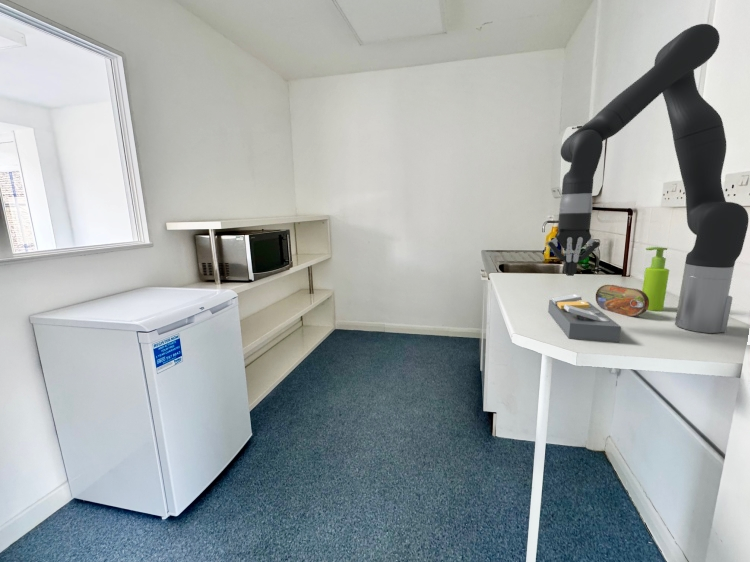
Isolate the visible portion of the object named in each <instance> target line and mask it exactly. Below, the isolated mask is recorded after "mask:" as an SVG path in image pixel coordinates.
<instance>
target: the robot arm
mask: <svg viewBox="0 0 750 562" xmlns="http://www.w3.org/2000/svg"><path fill="white" fill-rule="evenodd" d="M720 40H721V39H720V33H719V31H718V29H717V28H716V27H715V26H713V25H711V24H708V23H699V24H695V25H693V26H690V27H688V28H687V29H684V30H683V31H682V32H680V33H679V34H678V35H676V36H674V37H673V38H672V39H671V40H669V42H667V43H666V44H665V45H664V46H663V47H661V49H659V51H658V52H657V53H656V56H655V59H654V64H653V66H652V67H651V68H650V69H649V70H648V71H647V72H645V73H644V74H643V75H642V76H641V77H639V78H638V79H637V80H635V81H634V82H633V83H631V84H630V85H629V86H628V87H627V88H625V89H624V90H623V91H622V92H620V93H619V94H618V95H617V96H615V97H614V98H613V99H612V100H611V101H610V102H608V104H607V105H606V106H604V107H603V108H602V109H601V110H600V111H599V112H598V113H597V114H596V115H595V116H594V117H592V118H591V119H590V120H589V121H588V122H586V123H584V124H583V125H582V126H581V127H580V128H578V129H577V130H576V131H574V132H572V134H571V135H569V136H568V137H567V138H566V139H565V140H564V142H563V144H562V145H561V148H560V156H561V157H562V159H563V160H564V161H565V162H567V163H570V167H569V170H568V172H566V173H565V174H564V175H563V179H562V186H561V198H560V201H559V212H558V223H557V224H558V225H557V232H556V234H555V237H554V238H553V239H551V240H549V241H547V242H546V245H547V247H549V249H550V251H551V252H552V253H553V254H554V256H556V258H557V259H558V260H559V261H563V263H564V264H563V273H564V274H565V275H566V276H567V277H569V276H570V277H571V276H572V277H573V276H575V274H576V273H577V269H578V263H579V262H581V261H585V260H586V259H587V258H588V257H589V256H590V255H591V254H592V253H593V252H594V251H595V250H596V249H597V248H598V247H599V246H600V242H599V241H596V240H595V239H593V238H592V234H591V223H592V222H591V221H592V213H593V212H592V211H593V189H594V178H595V174H596V172H597V169H598V165H599V162H600V159H601V157H602V152H603V147H604V145H603V142H604V141H606V140H607V139H609V138H612V137H613V136H615V135H616V134H617V133H619V132H620V131H621V130H623V129H624V127H626V126H627V125H628V124H630V122H632V121H633V120H634V119H635V118H636V117H637V116H638V115H639V114H640V113H642V111H644V110H645V109H646V108H647V107H648V106H649V105H650V104H651V103H652V102H654V100H656V98H658V97H659V96H660V95H661V94H662V96H663V99H664V103H665V106H666V109H667V113H668V114H667V115H668V119H669V122H670V123H669V124H670V127H671V133H672V138H673V139H672V140H673V144H674V150H675V153H676V154H675V155H676V158H677V162H678V167H679V171H680V175H681V176H680V177H681V180H682V183H683V187H684V194H685V207H686V208H685V209H686V222H687V226H688V229H689V230H690V231H691V232H692V234H694V235H696V237H695V242H694V246H693V248H692V249H691V251H689V252H688V253H687V254H686V258H685V263H684V268H683V275H682V280H681V285H680V293H679V298H678V304H677V310H676V316H675V321H674V325H675V326H676V327H678V328H681V329H684V330H688V331H691V332H696V333H704V334H705V333H706V334H718V333H726V332H727V328H728V322H729V317H730V313H731V308H732V304H733V303H732V302H733V296H731V295H729V293H730V289H731V284H732V281H733V280H732V279H733V274H734V270H735V269H734V268H735V265H736V261H737V259H738V258H739V257H740V255H741V253H742V251H743V247H744V243H745V240H746V236H747V231H748V228H749V227H748V226H749V212H748V211H747V210H746V208H745V207H744V206H743V205H742V204H739V203H737V202H732V201H727V200H726V197H725V194H724V191H723V185H722V173H723V167H724V165H725V159H726V154H727V138H726V137H727V136H726V131H725V127H724V123H723V119H722V117H721V115H720V114H719V113H718V111H717V110H716V109H715V108H714V107H713V106H712V105H710V103H708V102H707V101H706V100H705V99H704V98H703V97H702V95H701V94H700V91H699V90H698V87H697V83H696V78H695V70H697V69H698V68H700V67H701V66H702V65H704V64H706V62H708V61H709V60H710V59H711V58H712V56H713V55H714V54H716V52H717V49H718V48H719V46H720V45H719V44H720ZM558 244H559V245H560V246H561V248H562V250H563V254H562V252H561V251H560V250H559V248H557V247H558ZM585 245H586V248H585V249H583V248H584V247H585ZM582 249H583V251H581V250H582Z"/></svg>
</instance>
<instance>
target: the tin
mask: <svg viewBox="0 0 750 562" xmlns="http://www.w3.org/2000/svg"><path fill="white" fill-rule="evenodd" d="M595 301H596V304H597V306H598V307H599V308H600V309H602V310H604V311H608V312H612V313H616V314H621V315H623V316H626V317H636V316H641V315H642V314H644V313H646V312H647V311H648V310H647V309H648V306H649V299H648V297H647V295H646V294H645V293H644V292H643V291H642V289H641V290H640V289H638V288H634V287H633V288H632V287H626V286H621V285H615V284H603V285H601V286H600V287H598V289H597V290H596V293H595Z"/></svg>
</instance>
